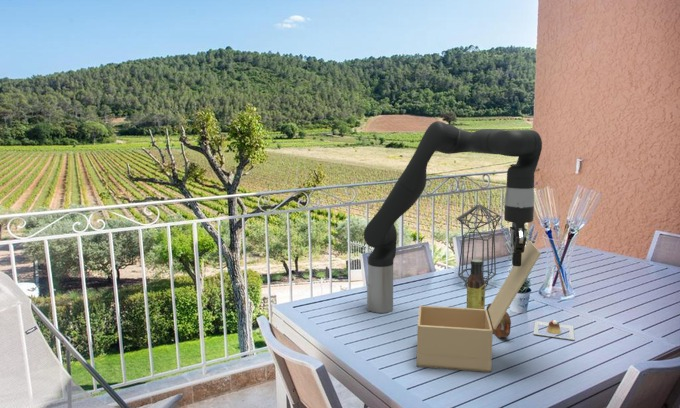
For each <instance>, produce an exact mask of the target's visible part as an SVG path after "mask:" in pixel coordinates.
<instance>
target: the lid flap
mask: <svg viewBox="0 0 680 408" xmlns="http://www.w3.org/2000/svg"><path fill="white" fill-rule="evenodd" d="M541 254H542V253H541V251H540V250H539V249H538V248H537V247H536V246H535V245H534V244H533V242H532V241H531V240H528V241H527V242H526V244H525V248H524V253H522V257H521V266H513V267H511V270H510V271H509V274H508V275H507V277H506V278H505V280H504V282H503V283H502V285H501V287H500V289H499V291H498V292H497V294H496V295H495V297H494V299H493V301H492V302H491V303H490V304H491V306H490V307H489V309H488V311H489V314H490V318H491V321H492V325H493V328H494V329H496V328H497V326H498V324H499V323H500V321H501V319H502V318H503V316H504V314H505V313H506V312H507V311H508V310H509V308H510V306H511V305H512V303H513V301H514V299H515V298H516V296H517V294H518V293H519V291H520V289H521V288H522V286H523V285H524V283H525V281H526V280H527V278H528V277H529V274H531V271H532V269H533V268H534V266H535V265H536V263H537V262H538V259H539V258H540V256H541Z"/></svg>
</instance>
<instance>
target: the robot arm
mask: <svg viewBox="0 0 680 408" xmlns="http://www.w3.org/2000/svg"><path fill="white" fill-rule="evenodd" d="M541 137H542V136H541V135H540V134H539V132H538V131H536V130H532V129H522V130H521V129H511V130H510V129H508V130H507V129H506V130H505V129H499V128H498V129H497V128H482V129H477V130H476V131H466V130H463V129H461V128H457V127H456V126H454V125H451V124H449V123H446V122H443V121H438V120H437V121H434V122H432V123H431V124H430V125H429V126H428V127H427V128H426V130H425V132H424V133H423V136H422V137H421V139H420V142H418V143H419V144H418V145H417V148H416V149H415V151H414V153H413V155H412V157H411V158H410V160H409V162H408V164H407V166H406V167H405V169H404V170H403V172H402V173H401V175H399V177H398V179H397V181H396V182H395V184H394V185H393V187H392V189H391V191H390V192H389V194H388V196H387V197H386V199H385V200H384V201H383V204H382V205H381V206H380V208H379V209H378V211H377V212H376V214H375V215H374V216H373V217H372V219H371V220H370V221H369V222H368V223H367V224H366V227H365V228H364V231H363V239H364V242H365V244H366V245H368V247H371V248H373V250H372V252H371V253H370V254H369V255H368V258H367V286H366V294H367V295H366V296H367V297H366V310H367V312H371V313H377V314H378V313H379V314H386V313H390V312H392V311H393V310H394V260H395V258H396V253H397V236H398V234H397V228H396V226H395V223H396V221H397V220H399V218H400V217H402V216H403V215H404V214H405V213H407V211H408V210H410V208H411V207H413V206H414V205H415V203H416V202H417V201H418V200H419V198H420V197H421V195H422V194H423V192H424V191H425V189H426V185H427V167H428V164H429V162H430V161H431V158H432V157H433V155H434V154H435V152H439V153H442V154H447V155H450V154H453V155H454V154H459V153H469V152H472V153H482V154H488V155H489V154H491V155H492V154H493V155H501V156H505V157H511V158H513V157H514V158H516V157H518V158H517V160H516V163H515V164H513V165H511V166H509V167H508V169H507V170H506V171H507V172H506V187H505V188H506V189H505V195H504V211H503V212H504V214H503V215H504V216H503V217H504V218H503V219H504V221H506V222H509V223H511V224H512V225H511V226H509V236H510V237H509V240H510V248H511V253H512V256H511V258H512V259H511V265H512V266H513V267H514V266H521V257H522V253H524V248H525V247H526V245H527V240H528V239H527V235H528V234H527V233H528V229H527V228H526V227H525V224H526V223H532V222H533V221H534V212H535V211H534V209H535V173H536V169H537V167H538V164H539V160H540V157H541V154H542V149H543V141H542V138H541Z"/></svg>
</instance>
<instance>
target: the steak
mask: <svg viewBox="0 0 680 408" xmlns="http://www.w3.org/2000/svg"><path fill="white" fill-rule="evenodd" d="M491 304H492V303H488V305H487V306H486V309H485V310H487V312H488V316H489V319H490V323H491V326H492V330H493V333H492V334H494V335H495V336H496V337H497V338H508V337H509V336H510V334H511V325H512V321H511V316H510V315H509V313H508V312H507V311H506V313H505V314H504V316H503V318H502V319H501V321H500V323H499V324H498V326H497V328H496V329H494V328H493V325H492V321H491V318H490V314H489V311H488V309H489V307H490V306H491Z"/></svg>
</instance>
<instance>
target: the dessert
mask: <svg viewBox="0 0 680 408" xmlns="http://www.w3.org/2000/svg"><path fill="white" fill-rule="evenodd" d="M539 325H540V326H541V325H542V326H547V328H546V332H547V333H549V334H552V335H547V334H543V333H542V334H541V333H539ZM574 328H575V327H574V326H573V325H569V324H561V323H559V322H558V321H557V320H556V319H554V320H550V321H549V322H546V321H545V322H544V321H538V320H535V321H534V326H533V333H532V334H533V335H536V336H540V337H548V338H554V339H555V338H556V339H560V340H561V339H562V340H569V341H574V340H575V330H574ZM561 329H568V331H569V332H568V333H569V337H560V336H553V335H560V334H562V330H561Z"/></svg>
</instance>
